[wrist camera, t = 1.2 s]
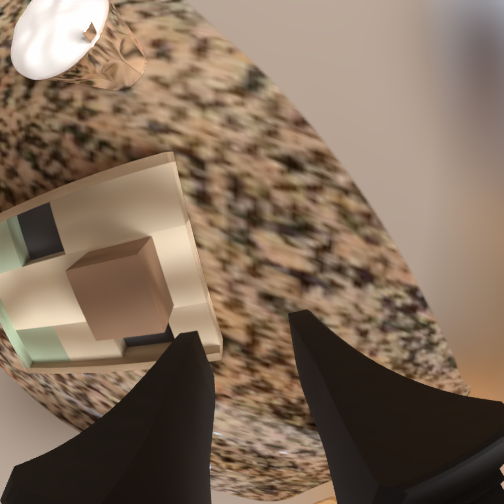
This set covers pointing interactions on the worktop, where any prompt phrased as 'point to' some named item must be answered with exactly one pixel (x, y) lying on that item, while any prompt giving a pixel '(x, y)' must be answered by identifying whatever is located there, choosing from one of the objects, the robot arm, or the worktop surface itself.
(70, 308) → the tray
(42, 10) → the milkshake
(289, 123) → the worktop surface
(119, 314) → the walnut block
